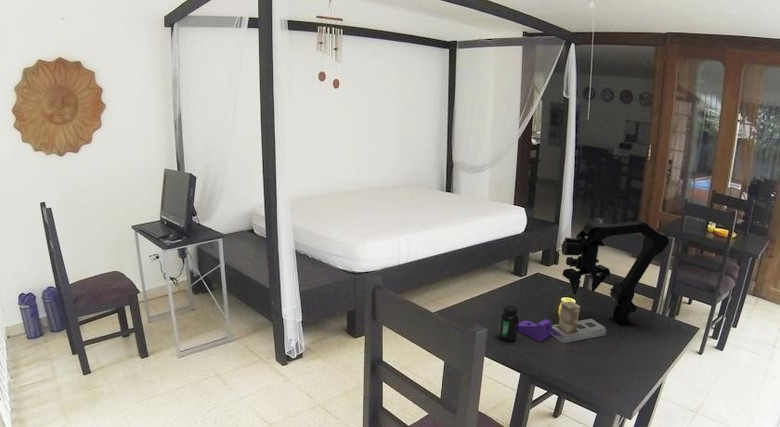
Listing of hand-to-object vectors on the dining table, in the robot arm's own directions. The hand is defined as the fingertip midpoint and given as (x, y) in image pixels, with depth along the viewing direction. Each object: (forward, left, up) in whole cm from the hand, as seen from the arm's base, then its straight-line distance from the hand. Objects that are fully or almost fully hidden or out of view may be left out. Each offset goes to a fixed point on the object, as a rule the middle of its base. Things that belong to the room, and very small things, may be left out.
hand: (583, 292), depth 195 cm
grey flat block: (+9, +9, -12) cm, 17 cm away
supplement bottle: (+36, +3, -12) cm, 38 cm away
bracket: (+25, +3, -13) cm, 28 cm away
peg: (+14, +9, -12) cm, 21 cm away
